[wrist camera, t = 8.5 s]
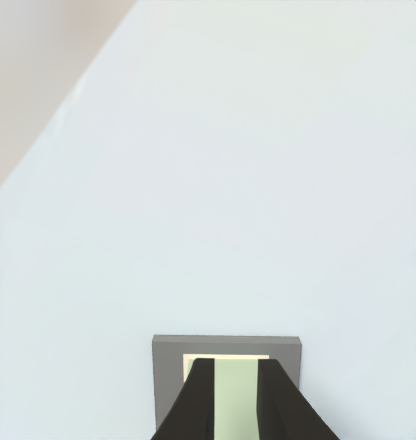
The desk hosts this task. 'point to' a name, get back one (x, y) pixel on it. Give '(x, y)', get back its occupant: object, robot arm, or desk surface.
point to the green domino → (235, 399)
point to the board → (212, 348)
